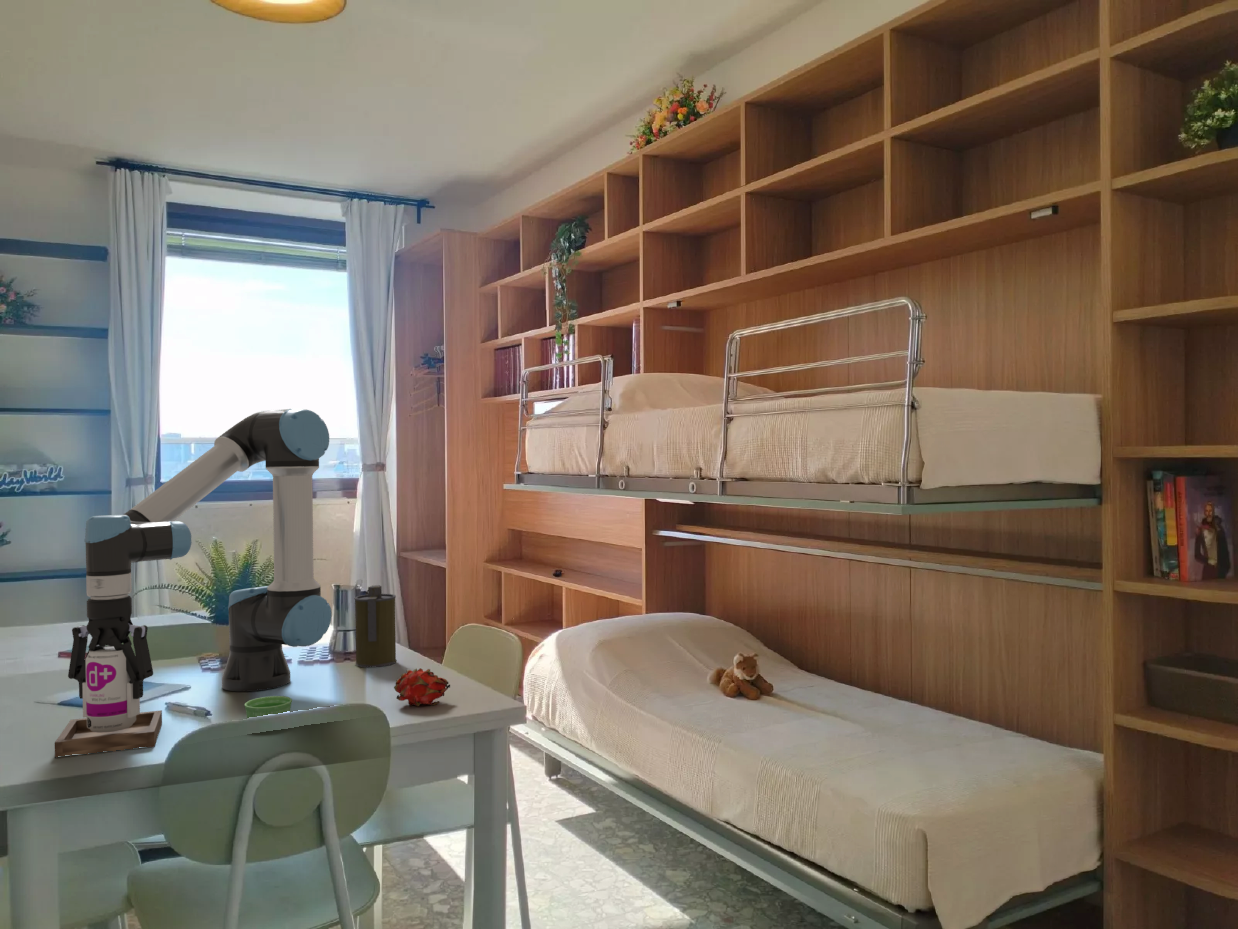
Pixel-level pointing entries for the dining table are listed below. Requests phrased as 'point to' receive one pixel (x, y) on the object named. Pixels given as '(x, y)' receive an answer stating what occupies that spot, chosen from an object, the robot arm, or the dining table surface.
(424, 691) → the dragon fruit
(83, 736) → the walnut tray
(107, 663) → the supplement can
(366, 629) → the canister
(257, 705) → the ramekin
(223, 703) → the dining table surface
